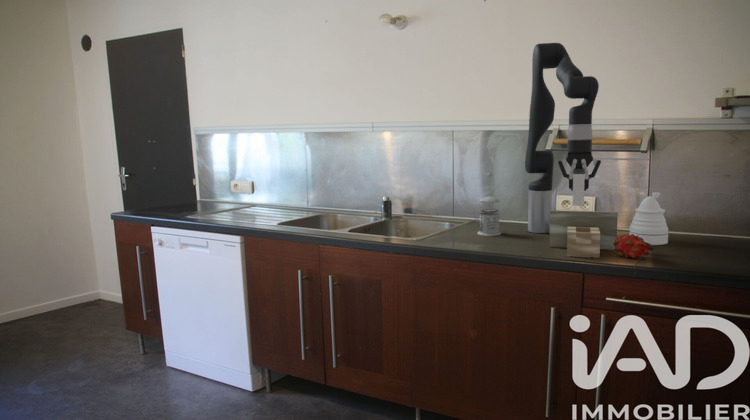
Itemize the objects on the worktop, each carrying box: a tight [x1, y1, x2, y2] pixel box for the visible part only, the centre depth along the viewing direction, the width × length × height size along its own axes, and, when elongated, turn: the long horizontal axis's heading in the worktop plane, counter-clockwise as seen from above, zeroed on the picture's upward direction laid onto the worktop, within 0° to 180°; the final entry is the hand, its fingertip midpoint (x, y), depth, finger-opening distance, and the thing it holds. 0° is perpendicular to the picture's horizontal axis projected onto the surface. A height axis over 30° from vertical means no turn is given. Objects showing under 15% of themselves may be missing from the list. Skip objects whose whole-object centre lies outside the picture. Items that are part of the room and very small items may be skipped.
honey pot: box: [628, 191, 669, 246], centre depth 199 cm, size 13×13×18 cm
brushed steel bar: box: [572, 169, 585, 207], centre depth 181 cm, size 7×4×12 cm, turn 159°
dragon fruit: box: [613, 233, 654, 260], centre depth 175 cm, size 8×8×12 cm
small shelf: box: [548, 210, 619, 259], centre depth 184 cm, size 16×22×13 cm
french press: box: [473, 172, 502, 237], centre depth 221 cm, size 10×12×25 cm
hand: (578, 190), depth 181 cm, fingers closed on brushed steel bar, 3 cm apart
